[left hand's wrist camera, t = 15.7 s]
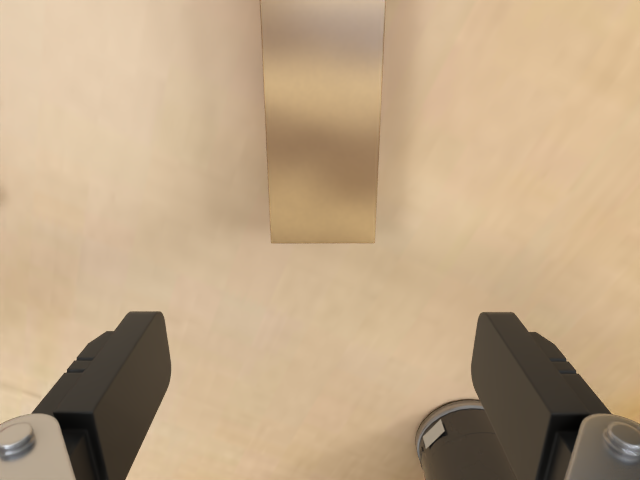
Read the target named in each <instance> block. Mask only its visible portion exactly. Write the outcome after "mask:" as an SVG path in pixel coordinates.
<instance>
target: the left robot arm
mask: <svg viewBox="0 0 640 480" xmlns="http://www.w3.org/2000/svg"><path fill="white" fill-rule="evenodd" d="M471 375H472V382H473V386H474V388H475V391H476V393H477V395H478V397H479V399H480V401H476V400H464V401H457V402H453V403H450V404H447V405H444V406H442V407H440V408H438V409H437V410H435V411H434V412H432V413H431V414H430V415H429V416H428V417H427V418H426V419H425V420H424V421H423V422H422V424H421V425H420V427H419V429H418V431H417V435H416V449H417V453H418V457H419V460H420V463H421V467H422V469H423V473H424V477H425V480H640V424H638V423H636V422H634V421H632V420H630V419H627V418H624V417H621V416H617V415H613V414H611V413H610V411H609V410H608V409H607V408H606V407H605V405H604V404H603V403H602V402H601V400H600V399H599V398H598V397H597V396H596V394H595V393H594V392H593V391H592V390H591V388H590V387H589V386H588V385H587V383H586V382H585V381H584V380H583V379H582V377H581V376H580V375H579V374H576V370H575V369H574V368H573V366H572V365H571V364H570V363H569V362H567V361H566V358H565V357H564V355H563V354H562V353H561V352H560V351H559V349H558V348H557V347H556V346H555V345H554V344H553V343H552V342H550V341H548V340H547V339H545V338H544V337H542V336H541V335H539V334H538V333H536V332H528V331H527V329H526V328H525V327H524V325H523V324H522V323H521V321H520V320H519V319H518V317H517V316H516V315H515V314H514V313H512V312H482V313H481V314H480V315H479V318H478V322H477V329H476V336H475V342H474V349H473V356H472V363H471ZM170 376H171V360H170V353H169V346H168V340H167V333H166V326H165V320H164V316H163V314H162V313H161V312H129V313H128V314H127V315H126V316H125V318H124V319H123V320H122V321H121V323H120V324H119V325H118V327H117V328H116V329H115V331H106V332H105V333H103V334H102V335H100V336H99V337H97V338H96V339H94V340H93V341H91V342H90V343H88V345H87V346H86V347H85V348H84V350H83V351H82V352H81V353H80V354H79V356H78V357H77V360H76V361H74V362H73V363H72V364H71V365H70V367H69V368H68V369H67V373H64V374H63V375H62V377H61V378H60V379H59V380H58V381H57V383H56V384H55V385H54V386H53V388H52V389H51V390H50V391H49V393H48V394H47V395H46V396H45V397H44V399H43V400H42V401H41V402H40V404H39V405H38V406H37V407H36V408H35V410H34V411H33V412H32V413H31V414H27V415H23V416H19V417H16V418H13V419H10V420H8V421H6V422H4V423H2V424H0V480H125V479H126V477H127V475H128V473H129V470H130V468H131V466H132V464H133V462H134V460H135V458H136V455H137V453H138V451H139V449H140V447H141V445H142V442H143V440H144V438H145V436H146V434H147V432H148V429H149V427H150V425H151V423H152V421H153V419H154V416H155V414H156V412H157V410H158V408H159V406H160V404H161V401H162V399H163V397H164V395H165V393H166V391H167V388H168V386H169V382H170Z"/></svg>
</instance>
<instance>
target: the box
mask: <svg viewBox="0 0 640 480" xmlns="http://www.w3.org/2000/svg"><path fill="white" fill-rule="evenodd" d="M385 7H386V0H260V12H261V34H262V56H263V78H264V100H265V122H266V144H267V166H268V188H269V210H270V232H271V243H375V225H376V203H377V181H378V159H379V138H380V116H381V94H382V72H383V51H384V29H385Z"/></svg>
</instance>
